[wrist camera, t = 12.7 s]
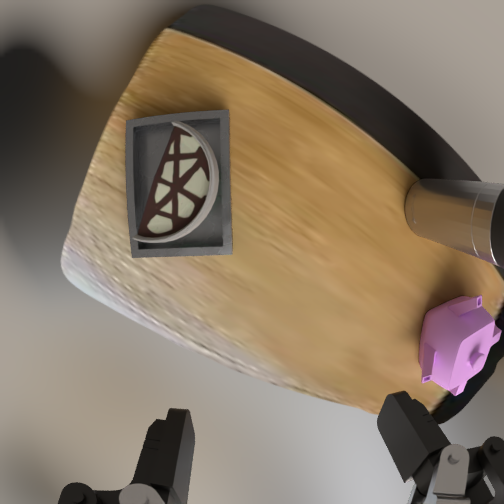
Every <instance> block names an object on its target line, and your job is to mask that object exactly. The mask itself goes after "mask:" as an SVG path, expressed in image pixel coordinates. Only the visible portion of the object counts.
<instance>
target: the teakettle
mask: <svg viewBox="0 0 504 504" xmlns="http://www.w3.org/2000/svg"><path fill="white" fill-rule="evenodd" d="M500 334H501V330H500V329H499V328H497V327H496V326H495V321H494V319H493V318H492V316H491V315H490V314H489V313H488V312H487V311H486V310H485V309H484V308H483V307H482V295H479V296H475V297H471V298H470V297H467V296H460V297H457V298H454V299H452V300H450V301H448V302H445V303H443V304H441V305H439V306H437V307H435V308H433V309H431V310H429V311H428V312H427V313H426V315H425V317H424V321H423V326H422V332H421V338H420V346H419V363H420V367H421V369H422V381H421V382H422V383H424V382H428V381H431V380H433V381H434V382H435V383H437V384H438V385H440V386H441V387H443V388H445V389H447V390H449V391H450V392H451V393H452V394H453V395H455V396H456V395H458V394H459V393H461V392H463V390H464V387H465V385H466V382H467V380H468V379H470V378H471V377H472V376H474V375H475V374H477V373H478V372H479V371H481V369H482V368H483V366H484V363H485V361H486V358H487V355H488V352H489V349H490V347H491V346H492V345H493V344H495V343H496V342H497V341H498V340H499V338H500Z"/></svg>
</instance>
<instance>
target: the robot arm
mask: <svg viewBox="0 0 504 504" xmlns="http://www.w3.org/2000/svg"><path fill="white" fill-rule="evenodd" d="M405 214H406V219H407V222H408V225H409V226H410V228H411V230H412V231H413V232H414V233H415V234H417V235H418V236H421V237H424V238H427V239H429V240H432V241H435V242H437V243H440V244H443V245H446V246H448V247H451V248H454V249H456V250H459V251H462V252H464V253H467V254H469V255H472V256H475V257H477V258H480V259H482V260H485V261H487V262H490V263H492V264H495V265H497V266H499V267H502V268H504V184H499V183H487V182H476V181H463V180H446V179H421V180H419V181H417V182H416V183H415V184H413V186H412V187H411V188H410V190H409V192H408V195H407V198H406V204H405ZM377 426H378V429H379V432H380V434H381V436H382V438H383V440H384V442H385V444H386V446H387V448H388V450H389V452H390V454H391V456H392V458H393V460H394V462H395V464H396V466H397V468H398V471H399V473H400V475H401V477H402V479H403V481H404V483H406V482H409V481H411V480H414V481H415V484H414V486H413V488H412V491H411V494H410V497H409V500H408V503H407V504H504V441H503V440H502V439H501V438H499V437H495V436H494V437H490V438H488V439H487V440H486V441H485V442H484V443H483V445H482V446H480V447H475V448H470V449H466V448H465V447H463V446H461V445H458V444H451V443H450V442H449V441H448V439H447V437H446V436H445V434H444V433H443V432H442V430H441V429H440V427H439V426H438V424H437V423H436V421H434V419H433V417H432V416H431V414H429V412H428V410H427V409H426V407H425V406H424V405H423V404H422V403H420V402H419V401H417V400H416V399H413V400H412V399H411V397H410V396H409V394H408V393H407V392H406V391H400V392H396V393H392V394H389V395H387V397H386V399H385V402H384V404H383V406H382V409H381V411H380V413H379V416H378V419H377ZM145 439H146V440H145V441H144V444H143V449H142V451H141V454H140V457H139V461H138V464H137V467H136V471H135V474H134V477H133V480H132V482H131V483H130V484H129V485H128V486H126V487H125V488H123V489H121V490H116V491H97V490H92V489H91V488H90V487H89V486H87V485H86V484H83V483H78V482H76V483H70V484H68V485H67V486H65V487H64V489H63V490H62V492H61V495H60V498H59V501H58V504H187V499H188V491H189V483H190V476H191V468H192V461H193V453H194V445H195V433H194V428H193V424H192V419H191V415H190V411H189V410H188V409H176V408H170V409H169V411H168V414H167V418H166V420H160V419H156V421H154V422H153V424H152V425H151V426H150V427H149V428H148V431H147V434H146V438H145ZM486 475H487V477H488V479H489V480H490V482H491V484H492V486H493V488H494V489H495V497H493V496H492V494H491V492H490V490H489V488H488V487H487V485H486V483H485V481H484V479H483V478H484V477H485V476H486Z"/></svg>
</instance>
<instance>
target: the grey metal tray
mask: <svg viewBox="0 0 504 504" xmlns="http://www.w3.org/2000/svg"><path fill="white" fill-rule="evenodd" d="M174 121H179V122H182V123H185V124H187V125H189V126H190V127H192V128H194V129H195V130H196V131H198V132H199V133H200V134H201V135H202V136H203V137H204V138H205V140H206V141H207V142H208V143H209V145H210V147H211V148H212V150H213V152H214V155H215V158H216V160H217V165H218V170H219V184H218V192H217V195H216V199H215V202H214V204H213V206H212V208H211V210H210V212H209V213H208V215H207V216H206V218H205V219H204V220H203V221H202V222H201V224H200V225H199V226H198V227H196V228H195V229H194V230H193V231H191V232H190V233H188V234H187V235H185V236H183V237H181V238H178V239H176V240H173V241H168V242H160V243H148V242H141V241H137V240H134V239H133V238H132V237H134V236H135V235H136V234H138V230H139V227H140V223H141V220H142V216H143V213H144V210H145V206H146V203H147V199H148V196H149V192H150V189H151V185H152V182H153V179H154V177H155V174H156V171H157V169H158V167H159V164H160V162H161V159H162V156H163V154H164V151H165V149H166V146H167V144H168V141H169V139H170V135H171V132H172V131H173V128H174V126H173V124H172V122H174ZM126 193H127V210H128V223H129V234H130V244H131V253H132V258H141V257H173V256H204V255H232V251H233V243H232V213H231V175H230V117H229V110H212V111H197V112H186V113H176V114H167V115H159V116H151V117H145V118H138V119H132V120H126Z"/></svg>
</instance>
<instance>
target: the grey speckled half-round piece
mask: <svg viewBox="0 0 504 504" xmlns="http://www.w3.org/2000/svg"><path fill="white" fill-rule="evenodd" d="M172 124H173V126H174V128H173V131H172V132H171V135H170V139H169V141H168V144H167V146H166V149H165V151H164V154H163V156H162V159H161V162H160V164H159V167H158V169H157V171H156V174H155V177H154V179H153V182H152V185H151V189H150V192H149V196H148V199H147V203H146V206H145V210H144V213H143V216H142V220H141V223H140V227H139V230H138V234H136V235H135V236H134V237H132V238H133V239H134V240H137V241H141V242H148V243H160V242H168V241H173V240H176V239H178V238H181V237H183V236H185V235H187V234H188V233H190V232H191V231H193V230H194V229H195V228H196V227H198V226H199V225H200V224H201V222H202V221H203V220H204V219H205V218H206V216H207V215H208V213H209V212H210V210H211V208H212V206H213V204H214V202H215V199H216V195H217V192H218V184H219V170H218V165H217V160H216V158H215V155H214V152H213V150H212V148H211V147H210V145H209V143H208V142H207V141H206V140H205V138H204V137H203V136H202V135H201V134H200V133H199V132H198V131H196V130H195V129H194V128H192V127H190V126H189V125H187V124H185V123H182V122H179V121H174V122H172Z"/></svg>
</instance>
